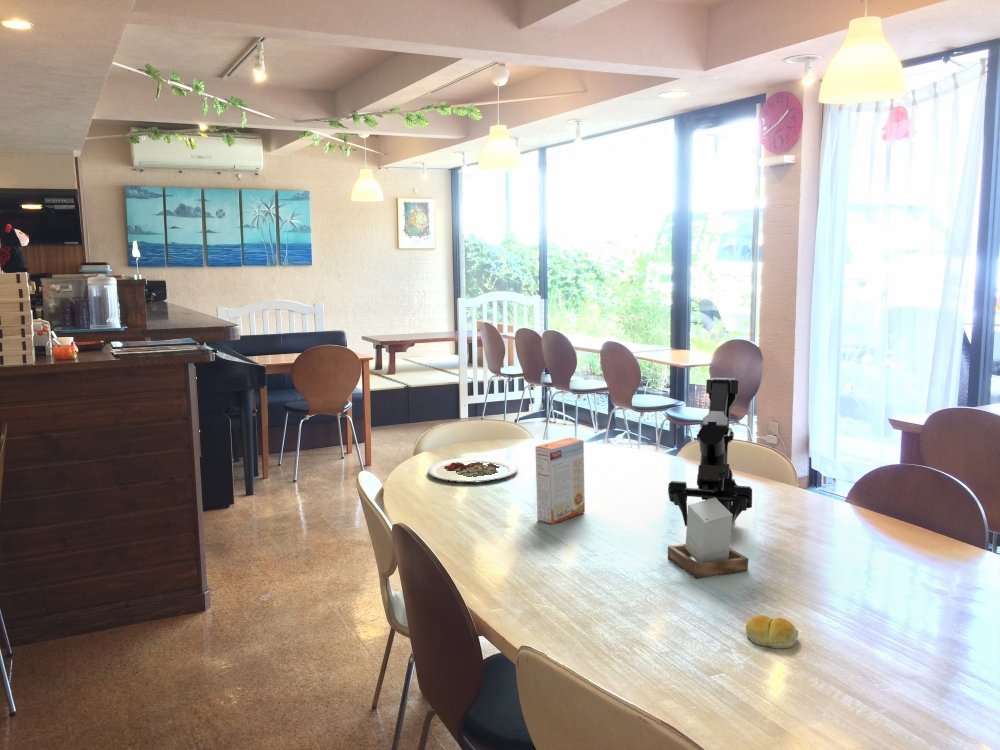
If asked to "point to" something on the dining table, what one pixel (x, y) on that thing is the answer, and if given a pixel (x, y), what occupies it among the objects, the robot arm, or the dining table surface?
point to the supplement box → (708, 531)
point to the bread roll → (771, 632)
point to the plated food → (474, 467)
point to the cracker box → (560, 480)
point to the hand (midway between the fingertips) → (707, 527)
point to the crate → (708, 569)
